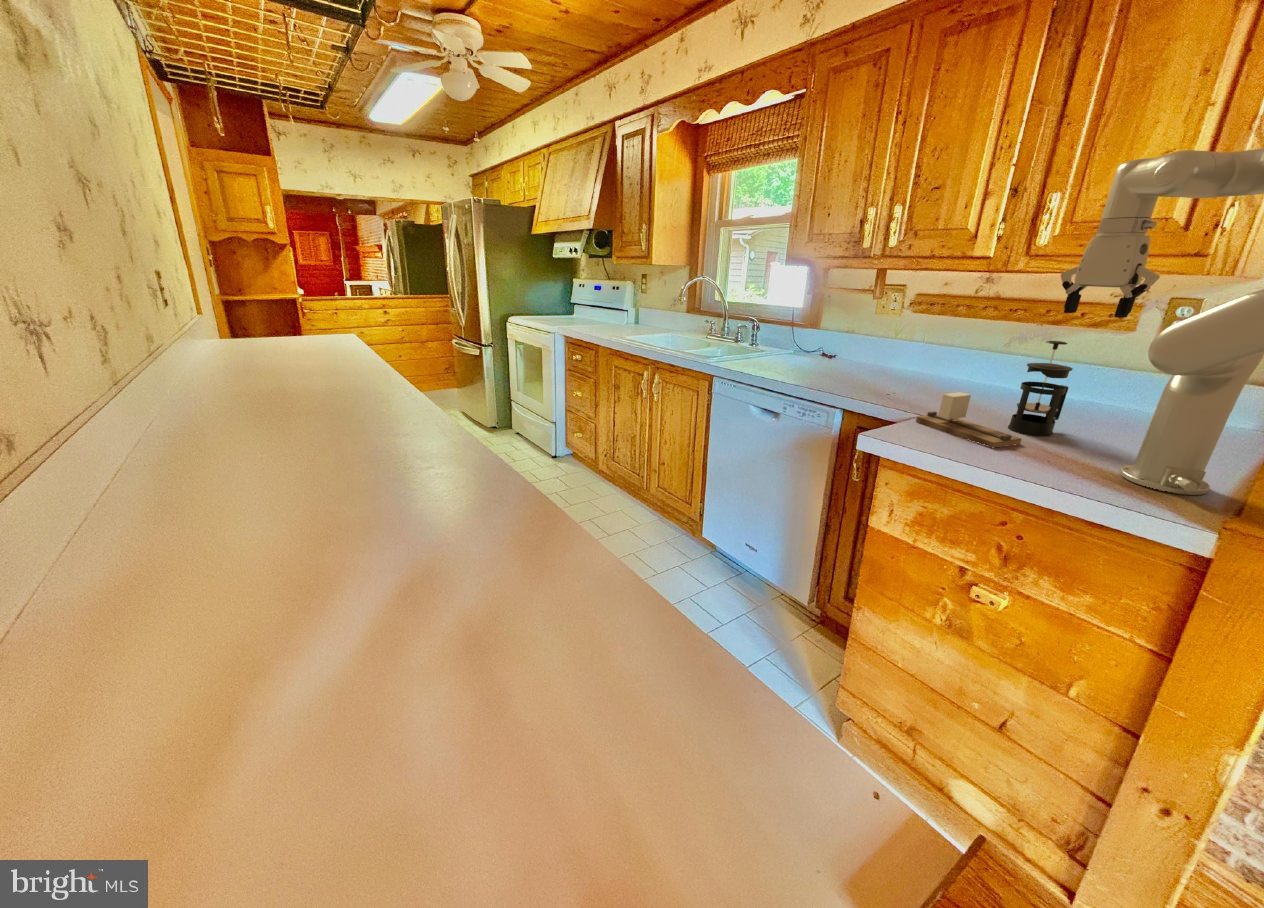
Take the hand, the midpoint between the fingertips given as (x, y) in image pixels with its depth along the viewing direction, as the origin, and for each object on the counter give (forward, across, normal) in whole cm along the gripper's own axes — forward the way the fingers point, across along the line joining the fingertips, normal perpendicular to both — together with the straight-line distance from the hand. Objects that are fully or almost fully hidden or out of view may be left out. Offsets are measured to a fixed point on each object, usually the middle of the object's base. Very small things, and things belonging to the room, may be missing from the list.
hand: (1094, 315), depth 109 cm
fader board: (+30, +14, +11) cm, 35 cm away
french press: (+31, +10, -7) cm, 33 cm away
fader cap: (+28, +19, +11) cm, 35 cm away
